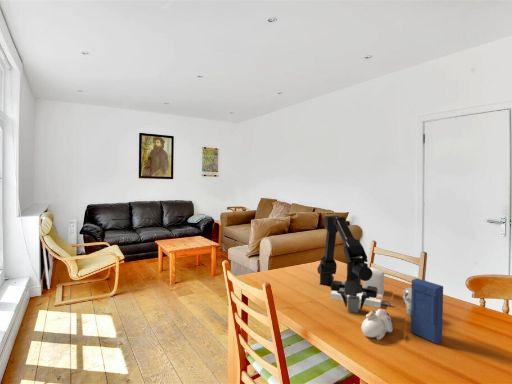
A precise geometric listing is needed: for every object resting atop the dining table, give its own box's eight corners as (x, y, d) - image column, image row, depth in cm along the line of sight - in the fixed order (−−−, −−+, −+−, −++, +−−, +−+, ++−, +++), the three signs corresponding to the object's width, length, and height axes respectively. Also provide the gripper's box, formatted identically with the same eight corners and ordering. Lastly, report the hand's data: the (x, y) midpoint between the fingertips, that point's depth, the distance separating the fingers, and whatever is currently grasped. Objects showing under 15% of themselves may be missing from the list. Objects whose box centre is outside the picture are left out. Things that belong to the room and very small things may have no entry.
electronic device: (443, 340, 103) (444, 285, 102) (435, 344, 100) (436, 288, 99) (417, 328, 111) (418, 277, 110) (409, 332, 108) (410, 280, 107)
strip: (330, 299, 138) (330, 292, 138) (335, 293, 146) (335, 285, 146) (390, 311, 125) (390, 302, 125) (391, 303, 133) (391, 295, 133)
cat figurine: (366, 316, 102) (388, 300, 111) (350, 319, 108) (372, 304, 117) (380, 344, 99) (402, 325, 108) (363, 346, 105) (385, 328, 114)
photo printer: (361, 290, 149) (362, 267, 148) (366, 288, 151) (366, 265, 151) (381, 296, 141) (381, 271, 140) (385, 294, 143) (385, 270, 143)
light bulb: (418, 313, 123) (419, 285, 123) (422, 321, 117) (422, 292, 116) (400, 311, 126) (401, 284, 125) (403, 318, 119) (403, 290, 118)
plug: (348, 311, 125) (348, 294, 124) (349, 307, 128) (349, 291, 128) (357, 313, 123) (357, 296, 122) (359, 309, 126) (359, 292, 126)
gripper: (327, 275, 122) (327, 311, 123) (374, 282, 113) (374, 321, 114) (333, 267, 132) (333, 301, 133) (377, 273, 123) (377, 309, 124)
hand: (353, 307), depth 126 cm, fingers open, 6 cm apart
